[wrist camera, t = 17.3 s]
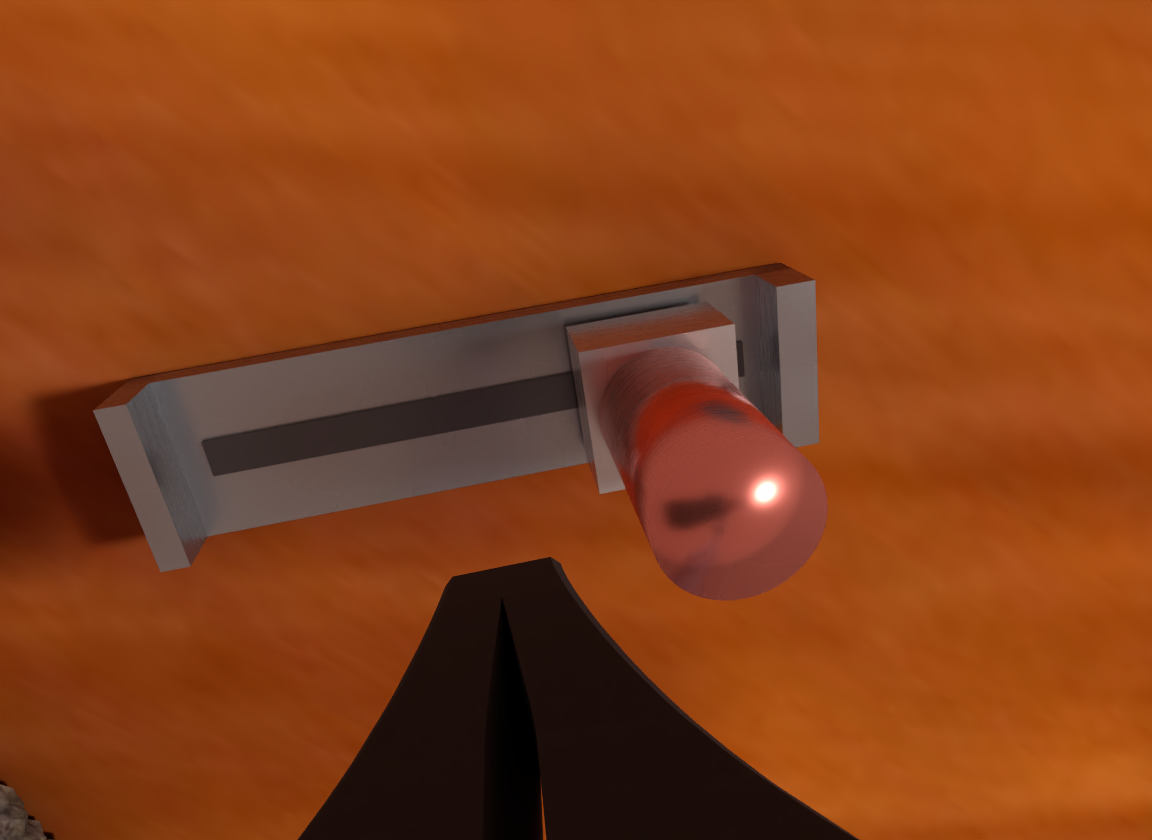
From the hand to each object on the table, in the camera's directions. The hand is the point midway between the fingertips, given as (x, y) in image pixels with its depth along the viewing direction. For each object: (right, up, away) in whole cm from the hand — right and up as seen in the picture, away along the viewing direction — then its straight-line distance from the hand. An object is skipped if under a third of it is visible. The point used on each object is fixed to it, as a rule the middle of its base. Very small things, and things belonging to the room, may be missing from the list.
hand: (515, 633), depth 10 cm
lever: (+2, +4, +8) cm, 9 cm away
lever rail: (-1, +3, +8) cm, 8 cm away
